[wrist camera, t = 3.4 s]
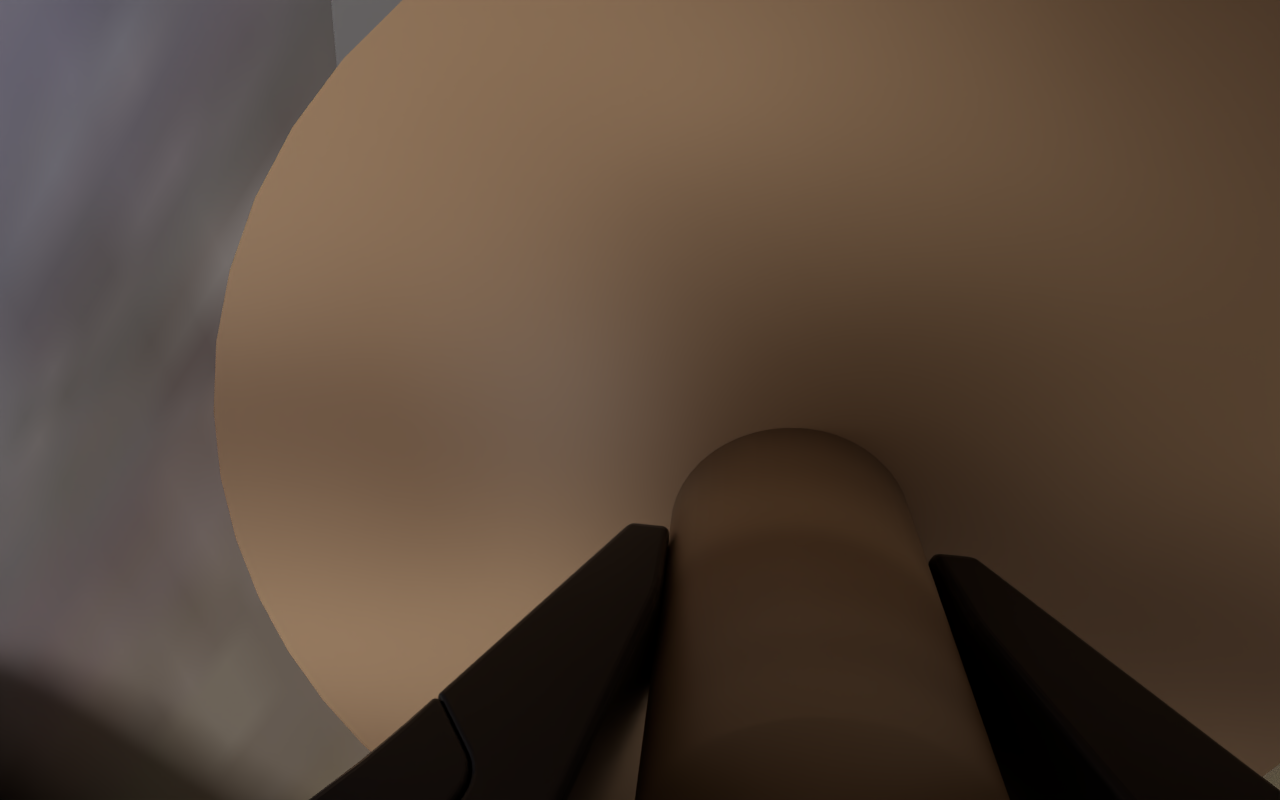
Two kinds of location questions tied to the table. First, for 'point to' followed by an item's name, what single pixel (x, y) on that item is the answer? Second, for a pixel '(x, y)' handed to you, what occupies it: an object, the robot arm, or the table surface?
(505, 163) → the lid
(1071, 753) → the robot arm
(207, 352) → the table surface
